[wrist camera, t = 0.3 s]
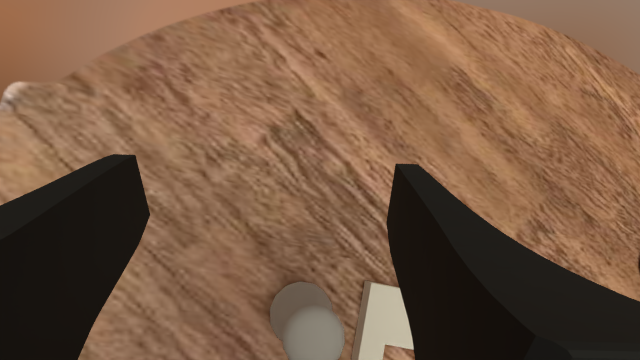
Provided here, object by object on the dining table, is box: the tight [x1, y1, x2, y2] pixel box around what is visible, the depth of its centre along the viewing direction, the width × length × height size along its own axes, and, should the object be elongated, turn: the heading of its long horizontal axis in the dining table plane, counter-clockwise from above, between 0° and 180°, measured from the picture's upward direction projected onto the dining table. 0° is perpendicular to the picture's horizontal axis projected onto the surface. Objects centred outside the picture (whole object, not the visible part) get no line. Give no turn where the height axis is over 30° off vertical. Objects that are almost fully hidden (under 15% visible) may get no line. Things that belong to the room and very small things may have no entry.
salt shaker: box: [270, 281, 345, 360], centre depth 32 cm, size 6×6×13 cm
